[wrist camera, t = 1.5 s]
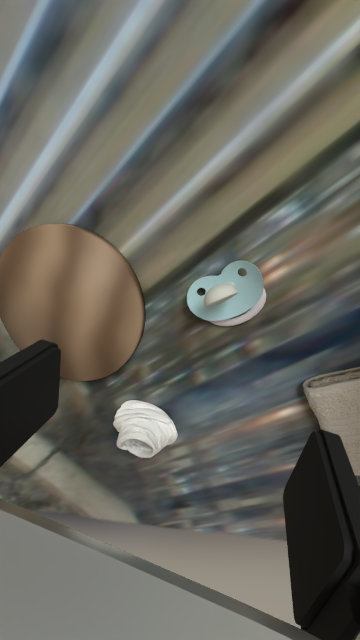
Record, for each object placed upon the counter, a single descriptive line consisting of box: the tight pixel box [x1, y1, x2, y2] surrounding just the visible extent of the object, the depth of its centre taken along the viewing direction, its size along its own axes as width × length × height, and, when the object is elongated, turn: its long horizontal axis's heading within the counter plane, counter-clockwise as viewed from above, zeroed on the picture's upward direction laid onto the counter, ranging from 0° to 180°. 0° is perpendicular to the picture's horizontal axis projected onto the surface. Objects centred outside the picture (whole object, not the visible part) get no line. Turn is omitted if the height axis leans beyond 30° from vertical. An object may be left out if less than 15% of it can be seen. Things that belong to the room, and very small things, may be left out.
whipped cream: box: [113, 400, 177, 458], centre depth 35 cm, size 8×7×5 cm
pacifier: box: [187, 261, 266, 326], centre depth 27 cm, size 7×6×6 cm
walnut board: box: [0, 224, 146, 381], centre depth 33 cm, size 18×18×2 cm
